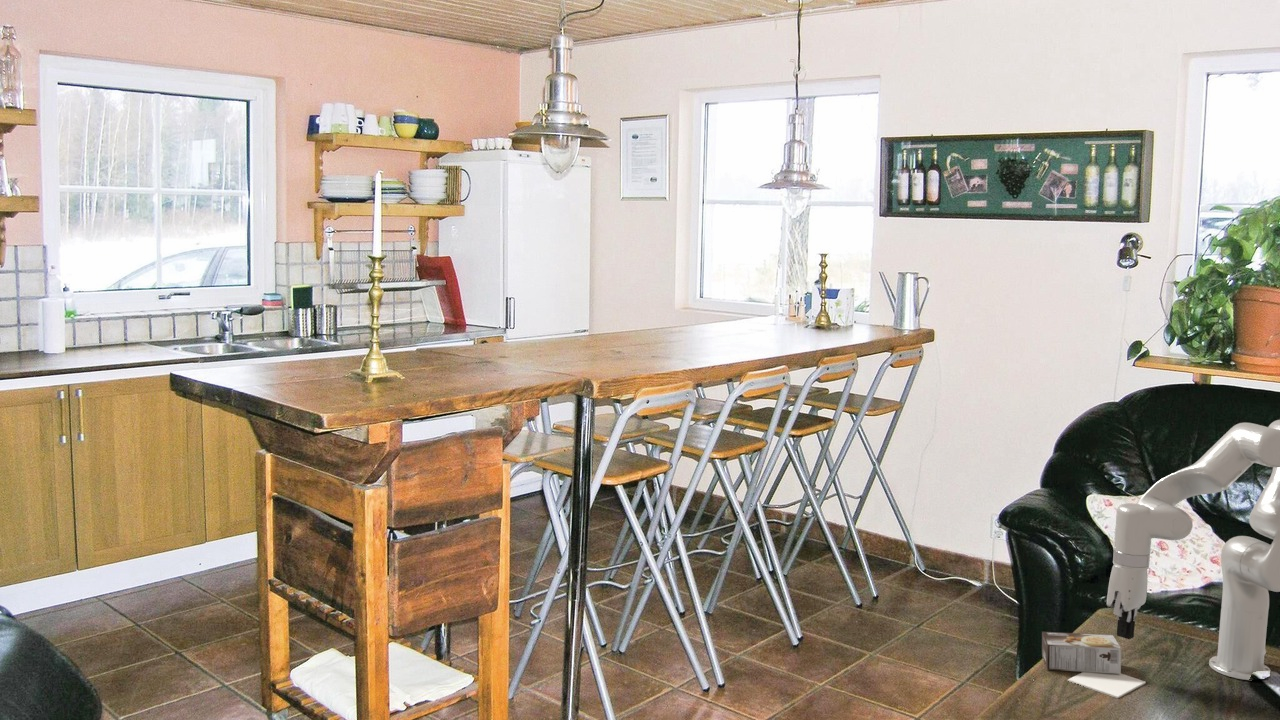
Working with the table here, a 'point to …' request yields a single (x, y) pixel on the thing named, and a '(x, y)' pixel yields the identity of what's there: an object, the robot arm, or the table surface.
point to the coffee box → (1081, 652)
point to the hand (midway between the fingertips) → (1125, 636)
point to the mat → (1107, 683)
